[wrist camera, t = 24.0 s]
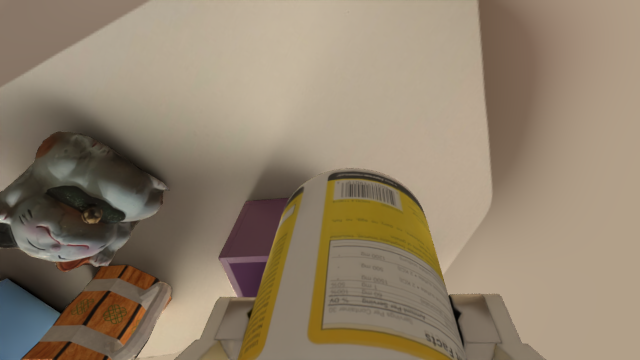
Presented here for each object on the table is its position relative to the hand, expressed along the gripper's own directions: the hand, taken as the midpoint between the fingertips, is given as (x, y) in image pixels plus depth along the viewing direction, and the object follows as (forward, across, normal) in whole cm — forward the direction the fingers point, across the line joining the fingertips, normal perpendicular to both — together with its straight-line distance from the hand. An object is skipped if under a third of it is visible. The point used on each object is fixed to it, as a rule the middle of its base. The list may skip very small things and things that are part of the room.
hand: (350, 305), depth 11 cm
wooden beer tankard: (+25, +38, +29) cm, 54 cm away
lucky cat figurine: (+25, +32, +8) cm, 41 cm away
